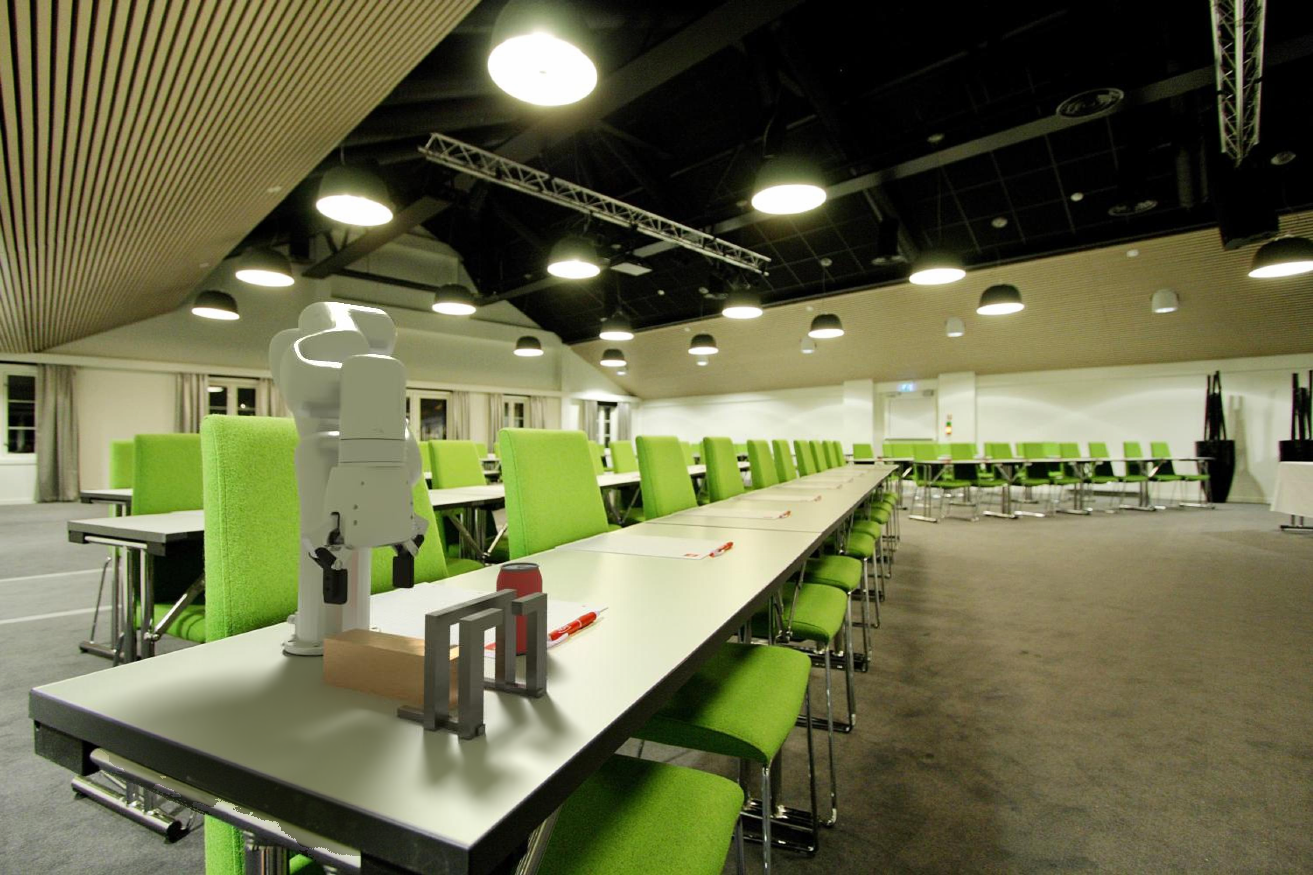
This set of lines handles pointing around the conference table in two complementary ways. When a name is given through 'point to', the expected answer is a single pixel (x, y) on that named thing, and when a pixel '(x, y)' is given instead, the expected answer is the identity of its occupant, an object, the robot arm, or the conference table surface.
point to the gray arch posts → (480, 658)
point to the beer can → (520, 591)
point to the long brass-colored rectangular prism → (382, 665)
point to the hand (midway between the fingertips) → (371, 595)
